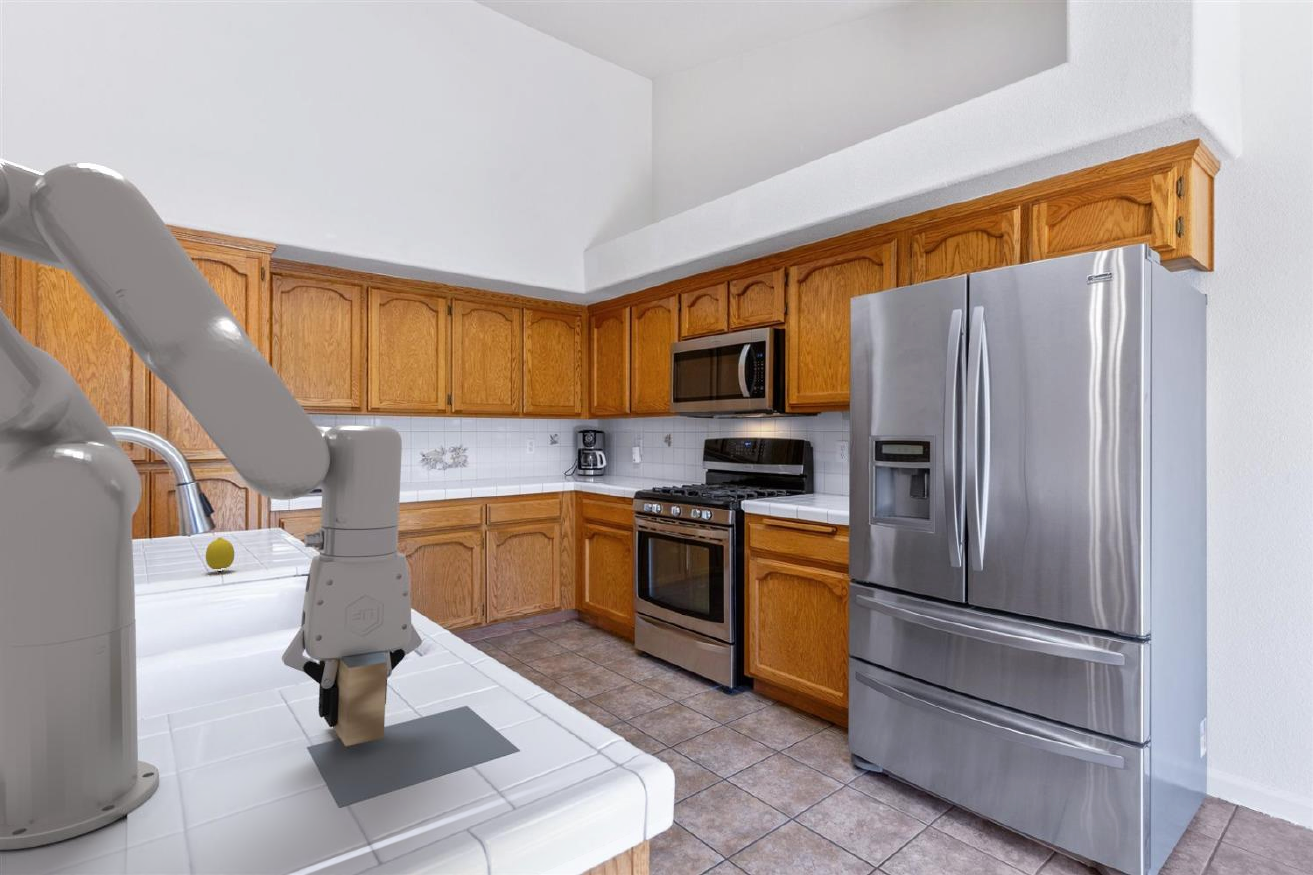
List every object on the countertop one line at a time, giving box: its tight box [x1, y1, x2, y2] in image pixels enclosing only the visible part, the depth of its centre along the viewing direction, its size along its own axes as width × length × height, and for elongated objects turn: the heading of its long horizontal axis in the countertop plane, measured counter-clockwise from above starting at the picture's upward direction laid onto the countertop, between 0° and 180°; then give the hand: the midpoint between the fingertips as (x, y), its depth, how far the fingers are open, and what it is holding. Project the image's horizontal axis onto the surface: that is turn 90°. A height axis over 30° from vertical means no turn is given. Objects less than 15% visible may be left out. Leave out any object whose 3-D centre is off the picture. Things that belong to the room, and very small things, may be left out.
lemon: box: [205, 537, 235, 570], centre depth 156 cm, size 6×6×8 cm
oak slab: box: [332, 652, 387, 746], centre depth 72 cm, size 4×10×8 cm, turn 37°
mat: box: [306, 705, 521, 809], centre depth 70 cm, size 17×14×1 cm
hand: (352, 715), depth 72 cm, fingers closed on oak slab, 3 cm apart
